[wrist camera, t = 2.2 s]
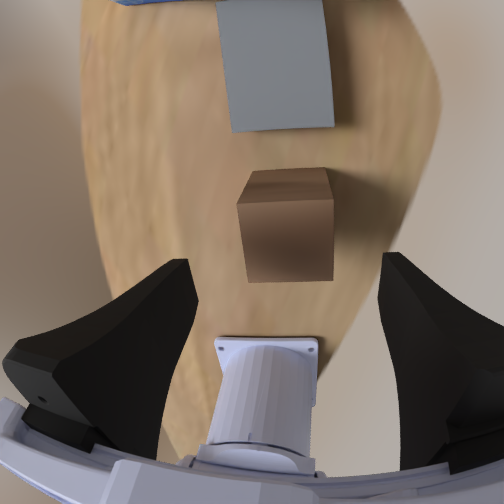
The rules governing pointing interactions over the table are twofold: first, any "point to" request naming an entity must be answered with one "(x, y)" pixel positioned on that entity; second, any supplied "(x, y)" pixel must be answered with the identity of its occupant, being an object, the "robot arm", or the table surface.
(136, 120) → the table surface
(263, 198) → the walnut cube
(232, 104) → the slate block
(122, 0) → the medicine box
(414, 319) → the robot arm
